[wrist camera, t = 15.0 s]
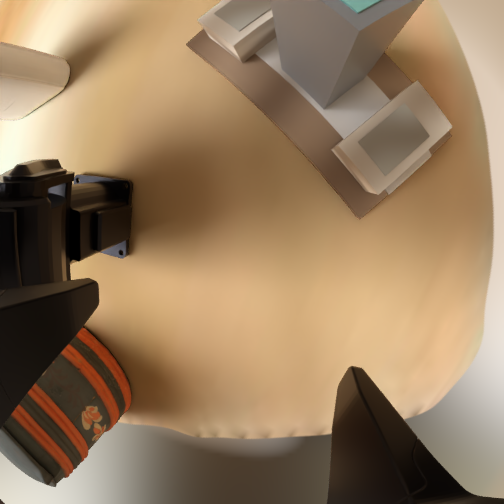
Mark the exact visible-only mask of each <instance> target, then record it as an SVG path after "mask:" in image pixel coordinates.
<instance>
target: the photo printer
mask: <svg viewBox="0 0 504 504" xmlns="http://www.w3.org/2000/svg"><path fill="white" fill-rule="evenodd" d="M69 75H70V67H69V65H68V64H67V63H66V60H65V59H63V58H60V57H57V56H54V55H50V54H47V53H43V52H40V51H36V50H33V49H29V48H25V47H21V46H17V45H13V44H8V43H4V42H0V120H10V121H12V120H19V119H21V118H23V117H25V116H26V115H28V114H29V113H31V112H32V111H34V110H35V109H36V108H38V107H39V106H41V105H42V104H44V103H45V102H47V101H48V100H50V99H51V98H53V97H54V96H55V95H57V94H58V93H60V92H61V91H62V90H63V89H64V86H65V85H66V84H67V82H68V79H69Z"/></svg>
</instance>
